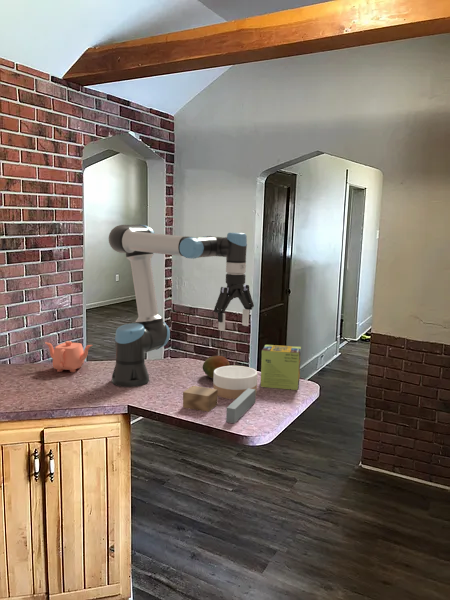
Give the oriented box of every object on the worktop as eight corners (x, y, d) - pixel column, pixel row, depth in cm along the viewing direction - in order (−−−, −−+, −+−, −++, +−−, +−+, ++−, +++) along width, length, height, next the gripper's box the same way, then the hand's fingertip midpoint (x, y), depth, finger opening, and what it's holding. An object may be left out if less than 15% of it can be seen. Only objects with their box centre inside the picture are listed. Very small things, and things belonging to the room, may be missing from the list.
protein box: (298, 390, 207) (299, 352, 204) (260, 387, 210) (261, 350, 207) (299, 382, 217) (301, 346, 214) (263, 379, 220) (264, 344, 217)
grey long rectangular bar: (226, 421, 173) (226, 407, 172) (247, 401, 193) (247, 388, 193) (234, 423, 172) (235, 409, 171) (255, 402, 192) (255, 389, 191)
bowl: (265, 392, 204) (266, 372, 202) (235, 402, 192) (236, 381, 190) (234, 382, 216) (234, 363, 214) (204, 391, 203) (204, 371, 202)
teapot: (45, 368, 231) (44, 340, 229) (81, 362, 240) (80, 335, 238) (56, 376, 219) (55, 347, 217) (93, 370, 228) (93, 342, 226)
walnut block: (183, 408, 186) (183, 392, 185) (192, 401, 193) (193, 385, 192) (208, 412, 182) (208, 396, 181) (217, 405, 189) (217, 389, 188)
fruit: (220, 384, 212) (220, 360, 211) (195, 378, 219) (195, 356, 217) (234, 377, 222) (235, 354, 221) (210, 372, 229) (210, 350, 227)
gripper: (220, 276, 185) (218, 334, 189) (264, 272, 203) (261, 325, 207) (205, 274, 190) (203, 330, 194) (249, 270, 208) (247, 322, 212)
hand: (233, 327), depth 200 cm, fingers open, 13 cm apart
